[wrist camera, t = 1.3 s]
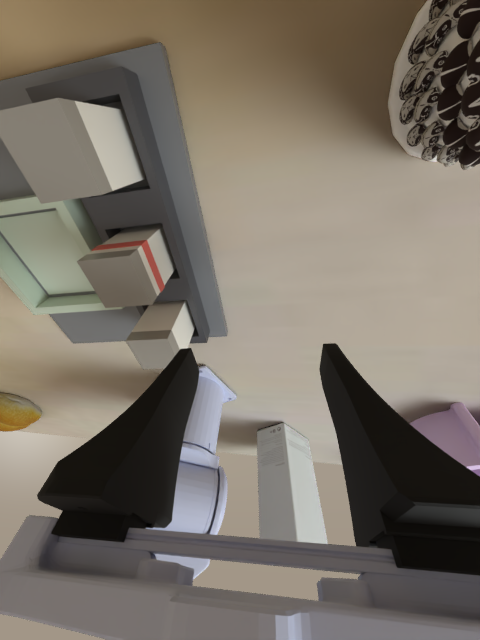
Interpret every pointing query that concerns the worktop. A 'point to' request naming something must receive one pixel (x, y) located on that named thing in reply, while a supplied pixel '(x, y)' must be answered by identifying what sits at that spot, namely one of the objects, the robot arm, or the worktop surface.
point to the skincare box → (287, 487)
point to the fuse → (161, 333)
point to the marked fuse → (130, 266)
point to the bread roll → (17, 412)
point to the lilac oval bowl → (453, 434)
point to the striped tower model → (439, 85)
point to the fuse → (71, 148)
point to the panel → (176, 175)
